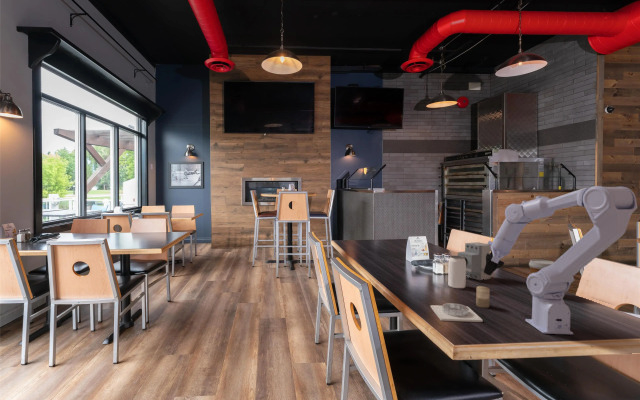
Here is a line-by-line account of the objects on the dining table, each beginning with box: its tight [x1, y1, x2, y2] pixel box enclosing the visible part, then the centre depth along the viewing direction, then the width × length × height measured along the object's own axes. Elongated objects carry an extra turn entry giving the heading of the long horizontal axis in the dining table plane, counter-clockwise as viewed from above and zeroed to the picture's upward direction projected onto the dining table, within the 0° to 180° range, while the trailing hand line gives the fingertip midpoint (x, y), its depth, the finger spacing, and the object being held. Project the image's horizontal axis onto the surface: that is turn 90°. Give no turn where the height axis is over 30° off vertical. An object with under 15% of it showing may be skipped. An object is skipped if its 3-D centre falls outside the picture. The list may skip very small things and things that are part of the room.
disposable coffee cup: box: [528, 259, 555, 274], centre depth 132 cm, size 10×10×12 cm
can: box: [447, 255, 467, 290], centre depth 139 cm, size 6×6×12 cm
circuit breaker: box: [457, 242, 493, 281], centre depth 154 cm, size 8×14×15 cm, turn 115°
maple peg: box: [475, 285, 491, 309], centre depth 117 cm, size 4×4×6 cm
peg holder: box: [430, 302, 483, 323], centre depth 108 cm, size 12×12×2 cm
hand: (488, 268), depth 119 cm, fingers open, 7 cm apart
